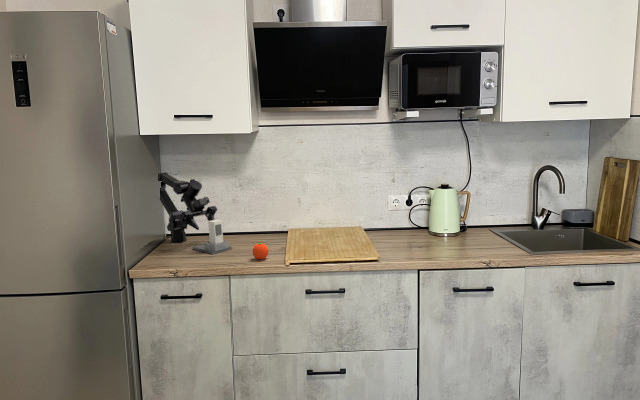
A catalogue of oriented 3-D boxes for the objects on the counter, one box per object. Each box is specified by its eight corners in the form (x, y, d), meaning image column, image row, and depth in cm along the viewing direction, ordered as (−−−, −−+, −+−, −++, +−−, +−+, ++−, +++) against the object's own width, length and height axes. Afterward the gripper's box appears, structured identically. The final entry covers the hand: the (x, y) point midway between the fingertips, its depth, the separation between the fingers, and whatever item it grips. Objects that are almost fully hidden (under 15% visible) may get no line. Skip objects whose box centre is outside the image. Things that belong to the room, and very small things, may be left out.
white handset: (210, 248, 230) (208, 221, 228) (218, 246, 233) (216, 219, 231) (216, 249, 227) (214, 222, 225) (224, 247, 230) (221, 220, 228)
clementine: (251, 257, 215) (250, 241, 214) (266, 255, 217) (265, 239, 216) (254, 262, 208) (253, 245, 207) (270, 260, 210) (269, 243, 209)
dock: (192, 249, 234) (191, 240, 233) (211, 244, 242) (211, 236, 241) (212, 254, 223) (211, 245, 223) (232, 249, 231) (231, 240, 231)
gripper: (180, 194, 227) (195, 220, 222) (213, 189, 241) (229, 213, 235) (172, 209, 234) (187, 235, 228) (205, 204, 247) (220, 227, 242)
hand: (206, 227), depth 233 cm, fingers open, 9 cm apart
